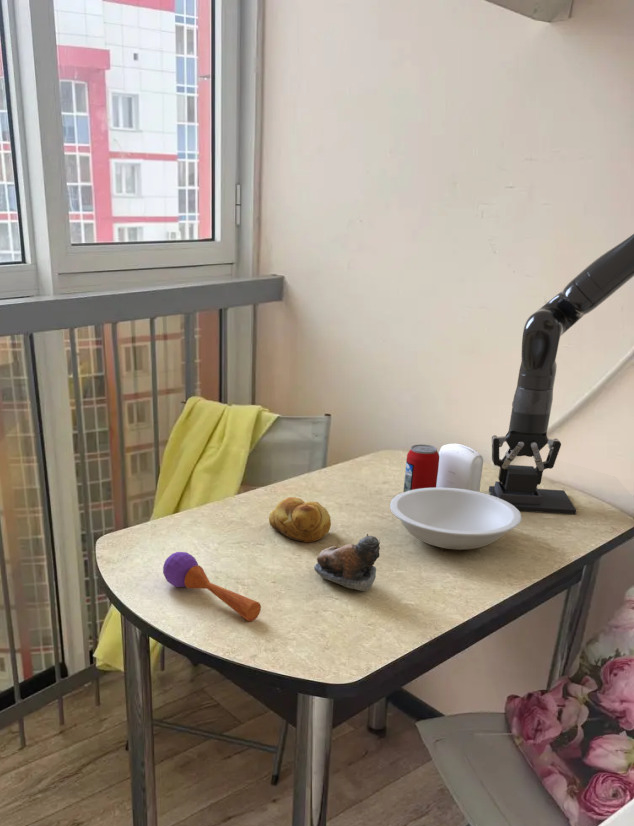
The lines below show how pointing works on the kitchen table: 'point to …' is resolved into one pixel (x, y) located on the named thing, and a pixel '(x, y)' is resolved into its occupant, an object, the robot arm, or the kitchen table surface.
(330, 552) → the bison figurine
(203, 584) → the purple toy maraca
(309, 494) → the kitchen table surface
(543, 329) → the robot arm
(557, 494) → the base pad
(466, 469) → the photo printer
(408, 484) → the beverage can
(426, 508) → the soup bowl
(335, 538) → the kitchen table surface
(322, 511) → the bread roll
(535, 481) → the black block
